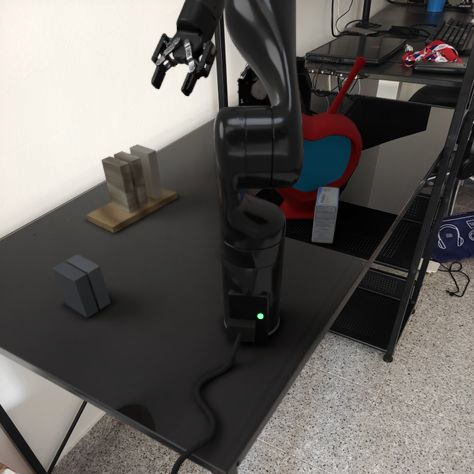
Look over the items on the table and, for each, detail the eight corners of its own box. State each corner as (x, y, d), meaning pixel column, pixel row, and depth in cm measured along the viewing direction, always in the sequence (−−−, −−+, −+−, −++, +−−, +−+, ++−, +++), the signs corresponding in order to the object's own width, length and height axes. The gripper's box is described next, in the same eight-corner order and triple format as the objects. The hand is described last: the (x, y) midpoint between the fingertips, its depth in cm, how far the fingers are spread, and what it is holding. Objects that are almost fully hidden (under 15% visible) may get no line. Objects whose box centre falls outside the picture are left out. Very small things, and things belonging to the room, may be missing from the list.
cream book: (145, 188, 105) (137, 144, 98) (162, 195, 103) (155, 150, 95) (137, 192, 104) (129, 147, 96) (155, 199, 101) (147, 153, 94)
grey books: (89, 290, 80) (77, 253, 74) (110, 302, 77) (99, 265, 72) (66, 304, 77) (51, 267, 71) (87, 318, 75) (74, 281, 69)
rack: (151, 188, 109) (143, 138, 100) (177, 198, 105) (171, 147, 96) (87, 220, 98) (72, 168, 89) (114, 233, 94) (100, 179, 85)
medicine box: (332, 244, 89) (338, 205, 83) (310, 242, 90) (315, 203, 84) (334, 225, 95) (340, 187, 89) (313, 223, 95) (318, 185, 89)
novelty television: (257, 222, 96) (260, 65, 75) (258, 195, 105) (262, 48, 83) (351, 223, 95) (382, 65, 73) (344, 196, 104) (370, 47, 82)
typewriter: (336, 185, 108) (354, 69, 90) (231, 177, 112) (228, 65, 94) (341, 138, 129) (356, 37, 111) (252, 133, 133) (253, 35, 115)
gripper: (165, -6, 87) (133, 73, 88) (220, -1, 80) (184, 84, 82) (186, 23, 93) (156, 95, 95) (237, 30, 87) (204, 107, 89)
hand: (169, 90), depth 89 cm, fingers open, 8 cm apart
